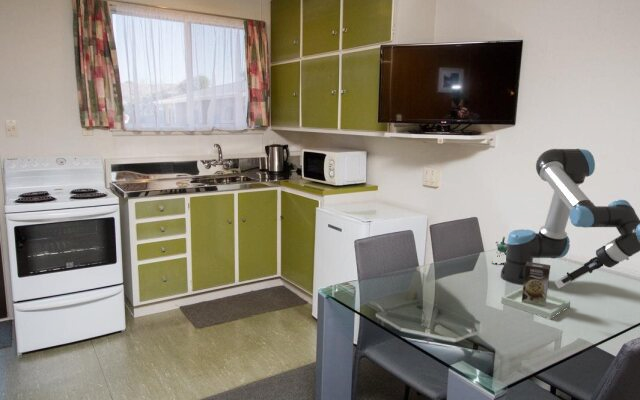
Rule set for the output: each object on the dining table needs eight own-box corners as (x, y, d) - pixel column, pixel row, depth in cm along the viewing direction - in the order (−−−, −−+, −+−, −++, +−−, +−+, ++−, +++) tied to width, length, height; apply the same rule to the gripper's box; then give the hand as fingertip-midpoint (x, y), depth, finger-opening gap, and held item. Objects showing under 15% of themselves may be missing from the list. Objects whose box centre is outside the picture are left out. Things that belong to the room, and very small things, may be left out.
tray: (501, 302, 192) (501, 297, 192) (522, 292, 203) (522, 287, 203) (550, 319, 177) (550, 313, 177) (569, 307, 188) (570, 301, 188)
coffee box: (521, 302, 190) (524, 265, 187) (522, 297, 196) (526, 260, 193) (545, 307, 186) (549, 269, 183) (546, 301, 191) (550, 264, 188)
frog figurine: (520, 260, 247) (521, 235, 243) (500, 270, 237) (501, 244, 233) (503, 256, 255) (504, 230, 251) (484, 265, 245) (484, 239, 241)
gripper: (606, 269, 156) (556, 297, 170) (631, 256, 172) (584, 282, 186) (591, 251, 159) (543, 280, 174) (617, 239, 175) (571, 266, 189)
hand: (564, 281), depth 180 cm, fingers open, 13 cm apart
